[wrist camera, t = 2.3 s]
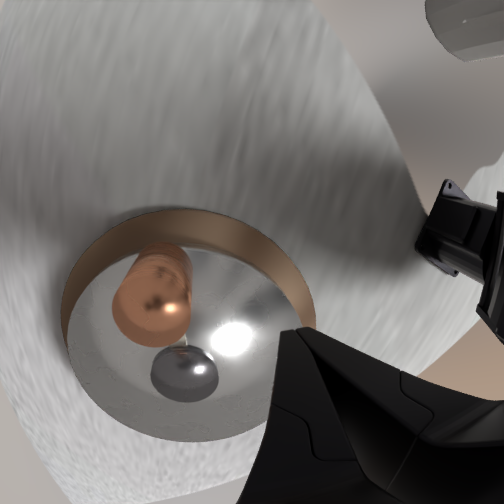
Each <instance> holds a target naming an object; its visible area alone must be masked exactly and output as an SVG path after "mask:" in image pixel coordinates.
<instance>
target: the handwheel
mask: <svg viewBox="0 0 504 504" xmlns="http://www.w3.org/2000/svg"><path fill="white" fill-rule="evenodd" d="M302 327H303V326H302V323H301V321H300V318H299V316H298V314H297V313H296V311H295V309H294V307H293V306H292V304H291V302H290V301H289V299H288V298H287V296H286V294H285V293H284V291H283V290H282V289H281V288H280V287H279V285H278V284H277V283H276V282H275V281H274V280H273V279H272V278H271V277H270V276H269V275H268V274H267V273H266V272H264V271H263V270H262V269H260V268H259V267H258V266H256V265H255V264H253V263H252V262H250V261H248V260H246V259H244V258H242V257H240V256H238V255H236V254H234V253H231V252H229V251H226V250H223V249H220V248H217V247H212V246H207V245H203V244H195V243H182V242H181V243H169V242H155V243H152V244H150V245H148V246H146V247H144V248H141V249H138V250H135V251H132V252H129V253H128V254H126V255H124V256H122V257H120V258H118V259H116V260H115V261H113V262H112V263H110V264H109V265H108V266H106V267H105V268H104V269H103V270H102V271H101V272H100V273H99V274H98V275H97V276H96V277H95V278H94V279H93V280H92V281H91V282H90V284H89V285H88V286H87V287H86V289H85V290H84V291H83V293H82V294H81V296H80V297H79V299H78V300H77V302H76V304H75V306H74V309H73V311H72V313H71V317H70V321H69V324H68V334H67V344H68V353H69V357H70V361H71V365H72V367H73V370H74V372H75V375H76V377H77V379H78V380H79V382H80V384H81V386H82V387H83V389H84V390H85V391H86V393H87V394H88V395H89V397H90V398H91V399H92V400H93V401H94V402H95V403H96V404H97V405H98V406H99V407H100V408H101V409H102V410H103V411H105V412H106V413H107V414H108V415H110V416H111V417H113V418H114V419H115V420H117V421H118V422H120V423H122V424H124V425H126V426H127V427H129V428H131V429H134V430H136V431H138V432H141V433H143V434H146V435H149V436H152V437H156V438H160V439H165V440H171V441H178V442H207V441H214V440H220V439H225V438H229V437H232V436H235V435H238V434H241V433H244V432H246V431H248V430H251V429H253V428H255V427H256V426H258V425H260V424H262V423H263V422H265V421H266V420H268V414H269V407H270V402H271V395H272V388H273V381H274V374H275V367H276V359H277V352H278V344H279V336H280V332H281V331H284V330H290V329H294V330H295V329H297V328H302Z"/></svg>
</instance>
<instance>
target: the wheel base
mask: <svg viewBox="0 0 504 504" xmlns="http://www.w3.org/2000/svg"><path fill="white" fill-rule="evenodd" d="M155 242H169V243H181V242H182V243H195V244H203V245H207V246H212V247H217V248H220V249H223V250H226V251H229V252H231V253H234V254H236V255H238V256H240V257H242V258H244V259H246V260H248V261H250V262H252V263H253V264H255V265H256V266H258V267H259V268H260V269H262V270H263V271H264V272H266V273H267V274H268V275H269V276H270V277H271V278H272V279H273V280H274V281H275V282H276V283H277V284H278V285H279V287H280V288H281V289H282V290H283V291H284V293H285V294H286V296H287V298H288V299H289V301H290V302H291V304H292V306H293V307H294V309H295V311H296V313H297V314H298V316H299V318H300V321H301V323H302V326H303V327H311V328H313V329H315V330H316V315H315V309H314V304H313V300H312V297H311V294H310V291H309V288H308V286H307V284H306V282H305V280H304V278H303V277H302V275H301V273H300V271H299V270H298V269H297V267H296V266H295V265H294V263H293V262H292V261H291V260H290V258H289V257H288V256H287V255H286V254H285V253H284V252H283V251H282V250H281V249H280V248H279V247H278V246H277V245H276V244H275V243H274V242H273V241H272V240H270V239H269V238H268V237H266V236H265V235H264V234H262V233H261V232H260V231H258V230H256V229H254V228H253V227H251V226H249V225H247V224H245V223H243V222H241V221H239V220H236V219H233V218H230V217H228V216H225V215H222V214H217V213H213V212H208V211H204V210H192V209H172V210H161V211H156V212H151V213H146V214H143V215H140V216H137V217H135V218H132V219H129V220H127V221H125V222H123V223H121V224H119V225H117V226H116V227H114V228H112V229H111V230H109V231H108V232H107V233H105V234H104V235H103V236H101V237H100V238H99V239H98V240H96V241H95V242H94V243H93V244H92V245H91V246H90V247H89V248H88V249H87V250H86V251H85V252H84V253H83V254H82V256H81V257H80V259H79V260H78V262H77V263H76V265H75V266H74V267H73V269H72V271H71V274H70V276H69V278H68V280H67V282H66V286H65V289H64V293H63V297H62V305H61V326H62V331H63V337H64V341H65V344H66V347H67V351H68V344H67V334H68V324H69V321H70V317H71V313H72V311H73V309H74V306H75V304H76V302H77V300H78V299H79V297H80V296H81V294H82V293H83V291H84V290H85V289H86V287H87V286H88V285H89V284H90V282H91V281H92V280H93V279H94V278H95V277H96V276H97V275H98V274H99V273H100V272H101V271H102V270H103V269H104V268H105V267H106V266H108V265H109V264H110V263H112V262H113V261H115V260H116V259H118V258H120V257H122V256H124V255H126V254H128V253H129V252H132V251H135V250H138V249H141V248H144V247H146V246H148V245H150V244H152V243H155ZM68 354H69V353H68Z"/></svg>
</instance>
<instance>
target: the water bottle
mask: <svg viewBox="0 0 504 504" xmlns="http://www.w3.org/2000/svg"><path fill="white" fill-rule="evenodd" d="M425 11H426V19H427V21H428V23H429V25H430V27H431V29H432V31H433V33H434V35H435V37H436V38H437V39H438V40H439V41H440V43H441V44H442V45H443V46H444V48H445V49H446V50H447V51H448V52H449V53H451V54H453V55H454V56H456V57H457V58H459V59H460V60H462V61H464V62H469V61H470V62H471V61H478V60H484V59H489V58H495V57H501V56H504V0H426V1H425Z"/></svg>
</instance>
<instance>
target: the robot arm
mask: <svg viewBox="0 0 504 504" xmlns="http://www.w3.org/2000/svg"><path fill="white" fill-rule="evenodd" d="M448 184H449V186H448ZM497 199H498V201H497V207H494V206H491V205H487V204H483V203H480V202H476V201H472V200H470V199H469V197H468V196H467V195H466V194H465V193H464V192H463V191H462V190H461V189H460V188H459V187H458V186H457V185H456V184H455V183H454V182H453V181H452V180H450V179H445V180H444V182H443V184H442V186H441V189H440V191H439V194H438V196H437V198H436V201H435V203H434V205H433V208H432V210H431V212H430V215H429V217H428V219H427V221H426V223H425V225H424V228H423V230H422V232H421V234H420V236H419V238H418V240H417V242H416V244H415V250H416V251H417V252H418V253H419V254H421V255H422V256H424V257H425V258H427V259H428V260H430V261H431V262H433V263H434V264H435V265H437V266H438V267H440V268H441V269H443V270H444V271H445V272H447V273H448V274H450V275H451V276H453V277H456V276H457V275H458V273H459V272H461V273H463V274H464V275H466V276H468V277H470V278H472V279H474V280H475V281H477V282H479V283H481V284H483V285H484V286H483V290H482V293H481V297H480V301H479V304H477V308H476V312H477V313H478V315H479V316H480V317H481V318H482V319H483V321H484V322H485V323H486V324H487V325H488V327H489V328H490V329H491V330H492V332H493V333H494V334H495V335H496V337H497V338H498V339H499V340H500V341H501V343H503V345H504V192H501V191H497ZM421 245H422V247H421ZM420 247H421V248H420ZM236 504H504V400H499V401H493V400H486V399H482V398H478V397H475V396H472V395H468V394H464V393H462V392H458V391H455V390H452V389H449V388H445V387H442V386H440V385H437V384H433V383H431V382H428V381H426V380H423V379H421V378H418V377H416V376H413V375H411V374H409V373H407V372H404V371H400V369H398V368H395V367H393V366H391V365H389V364H387V363H384V362H382V361H380V360H378V359H376V358H374V357H371V356H369V355H367V354H365V353H363V352H361V351H359V350H356V349H354V348H352V347H350V346H348V345H346V344H344V343H342V342H340V341H338V340H336V339H333V338H331V337H329V336H327V335H325V334H323V333H321V332H319V331H317V330H315V329H313V328H311V327H302V328H297V329H295V330H294V329H290V330H284V331H281V332H280V336H279V344H278V352H277V359H276V367H275V374H274V381H273V388H272V395H271V402H270V407H269V414H268V420H267V424H266V429H265V433H264V436H263V439H262V442H261V445H260V448H259V451H258V454H257V456H256V459H255V461H254V464H253V467H252V469H251V471H250V474H249V476H248V479H247V481H246V484H245V486H244V489H243V491H242V493H241V495H240V497H239V499H238V501H237V503H236Z"/></svg>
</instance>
